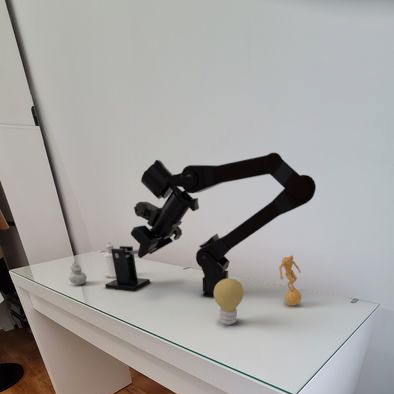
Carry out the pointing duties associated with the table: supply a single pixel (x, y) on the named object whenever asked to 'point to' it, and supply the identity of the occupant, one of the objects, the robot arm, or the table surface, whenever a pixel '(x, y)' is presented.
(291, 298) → the figurine
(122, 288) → the bracket
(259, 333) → the table surface
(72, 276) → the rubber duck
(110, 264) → the eye dropper bottle
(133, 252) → the lever
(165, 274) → the table surface
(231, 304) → the light bulb
